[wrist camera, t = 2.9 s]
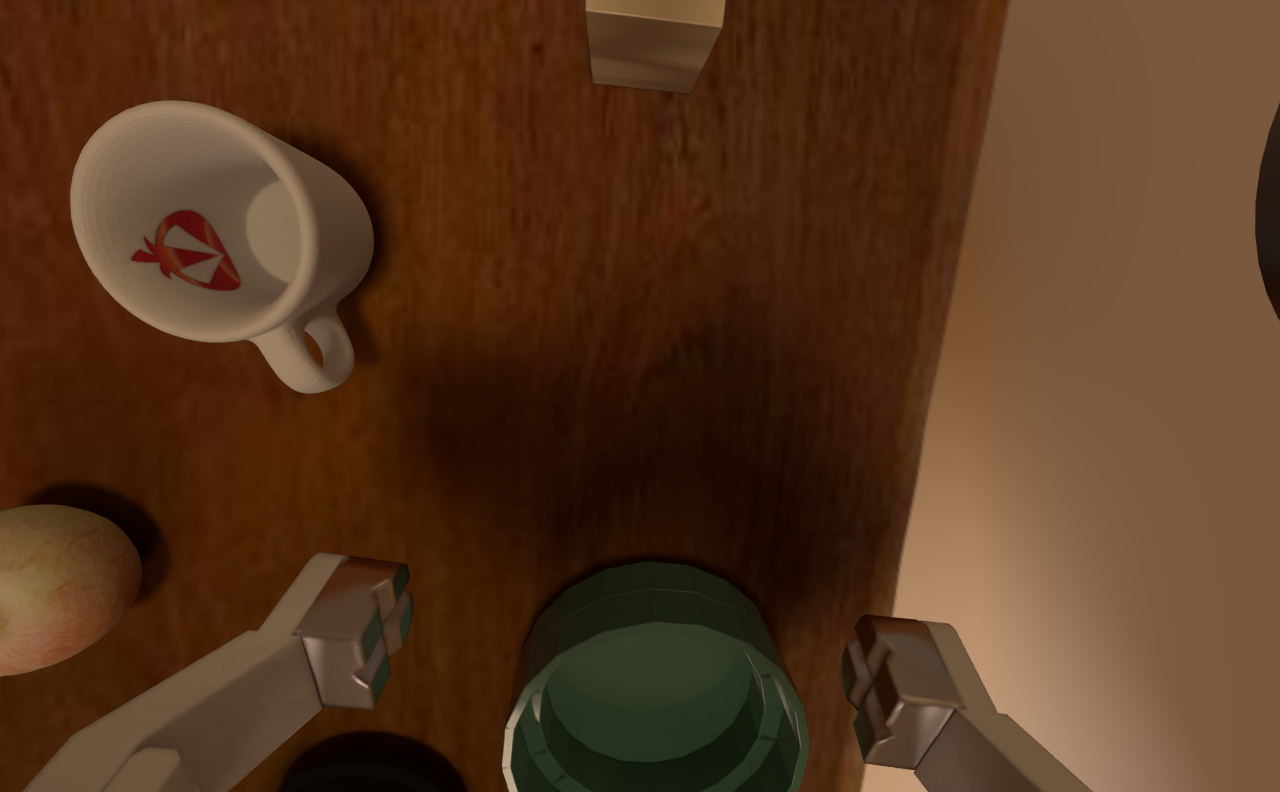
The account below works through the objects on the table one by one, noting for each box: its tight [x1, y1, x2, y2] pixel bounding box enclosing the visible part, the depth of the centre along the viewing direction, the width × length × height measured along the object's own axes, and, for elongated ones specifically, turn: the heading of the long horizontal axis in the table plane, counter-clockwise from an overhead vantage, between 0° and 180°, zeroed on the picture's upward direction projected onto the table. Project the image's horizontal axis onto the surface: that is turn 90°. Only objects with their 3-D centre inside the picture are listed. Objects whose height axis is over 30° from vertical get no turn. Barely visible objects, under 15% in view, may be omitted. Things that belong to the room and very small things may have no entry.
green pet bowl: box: [501, 561, 810, 792], centre depth 31 cm, size 15×15×6 cm
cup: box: [70, 101, 374, 394], centre depth 24 cm, size 11×8×8 cm
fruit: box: [0, 504, 142, 676], centre depth 26 cm, size 8×7×8 cm
